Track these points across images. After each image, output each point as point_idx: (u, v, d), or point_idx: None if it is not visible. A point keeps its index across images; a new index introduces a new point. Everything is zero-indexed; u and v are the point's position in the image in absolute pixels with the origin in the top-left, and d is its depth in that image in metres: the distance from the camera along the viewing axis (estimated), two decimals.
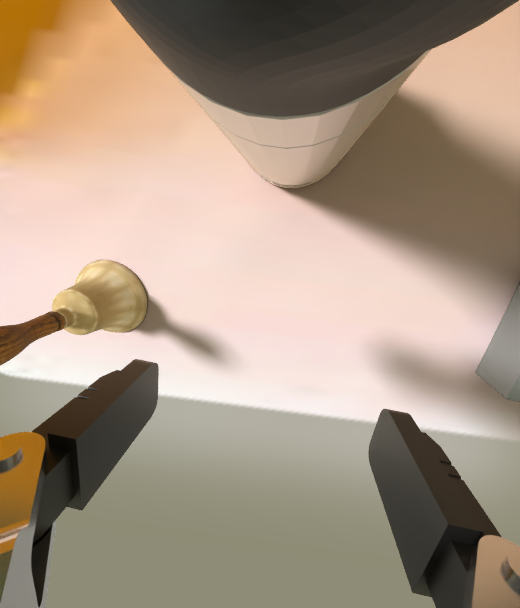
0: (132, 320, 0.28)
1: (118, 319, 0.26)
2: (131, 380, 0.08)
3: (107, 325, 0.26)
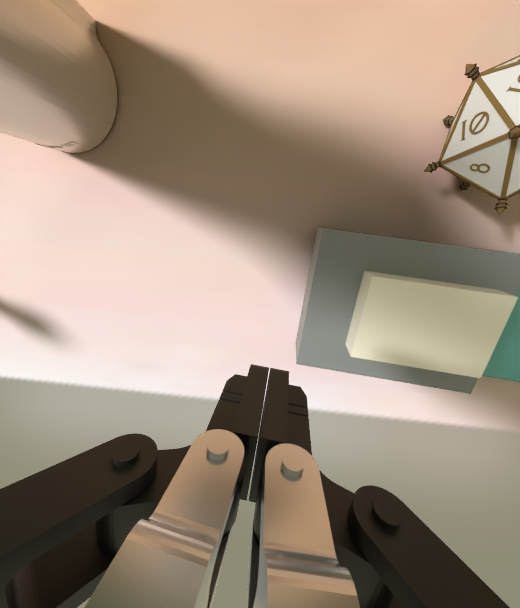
0: None
1: None
2: (262, 384, 0.09)
3: None
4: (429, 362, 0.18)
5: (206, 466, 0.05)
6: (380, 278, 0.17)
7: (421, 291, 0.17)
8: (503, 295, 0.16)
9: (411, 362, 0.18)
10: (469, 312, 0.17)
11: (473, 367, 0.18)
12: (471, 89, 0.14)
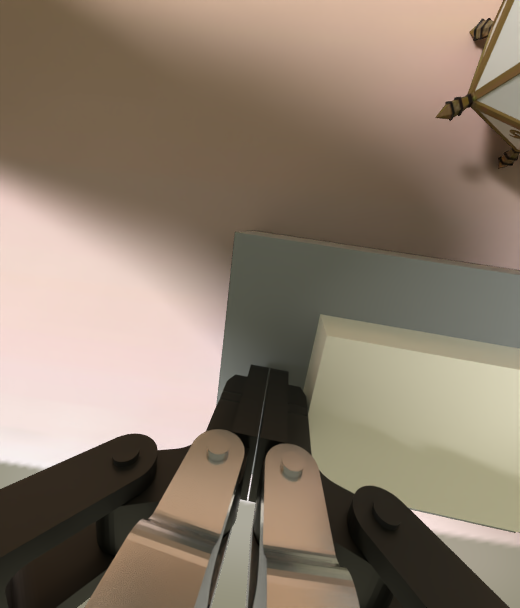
0: None
1: None
2: (263, 384, 0.09)
3: None
4: (446, 502, 0.09)
5: (206, 466, 0.05)
6: (344, 340, 0.08)
7: (431, 371, 0.08)
8: None
9: (410, 500, 0.09)
10: None
11: None
12: None
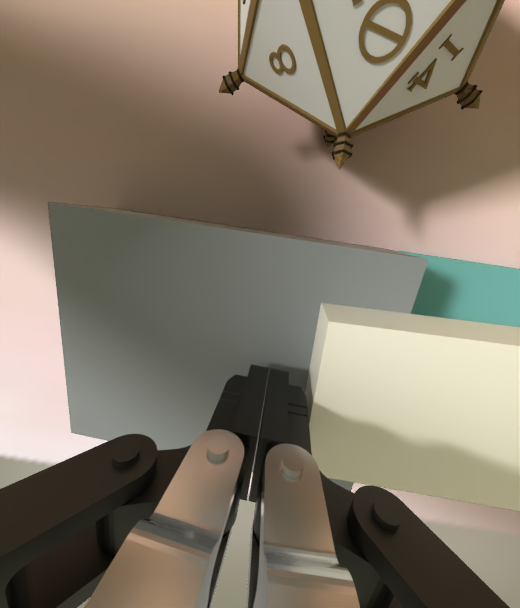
0: None
1: None
2: (263, 384, 0.09)
3: None
4: (457, 486, 0.09)
5: (206, 466, 0.05)
6: (346, 326, 0.08)
7: (436, 353, 0.08)
8: None
9: (420, 486, 0.09)
10: None
11: None
12: None
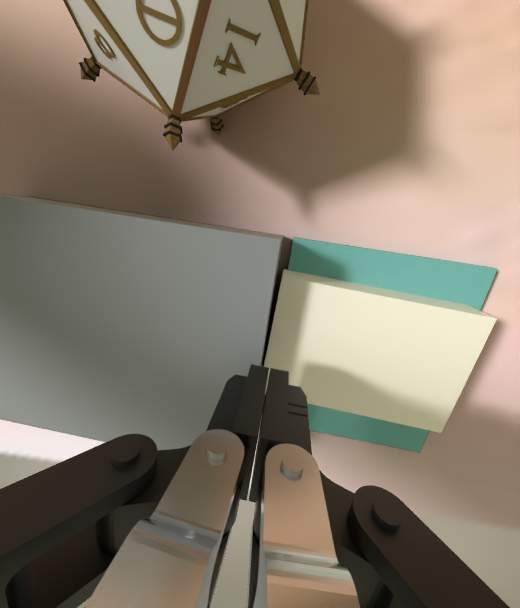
0: None
1: None
2: (263, 384, 0.09)
3: None
4: (368, 405, 0.12)
5: (206, 466, 0.05)
6: (294, 280, 0.11)
7: (354, 303, 0.11)
8: (475, 314, 0.11)
9: (343, 405, 0.13)
10: (424, 337, 0.11)
11: (431, 416, 0.12)
12: None
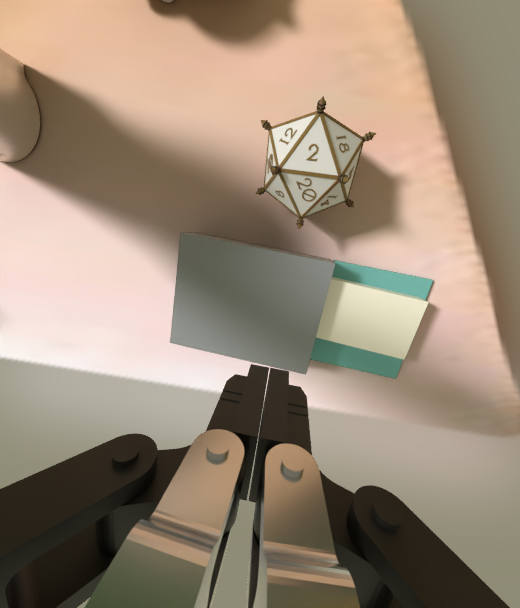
0: None
1: None
2: (262, 384, 0.09)
3: None
4: (369, 344, 0.25)
5: (206, 466, 0.05)
6: (336, 281, 0.24)
7: (364, 292, 0.24)
8: (419, 300, 0.24)
9: (356, 344, 0.25)
10: (396, 310, 0.24)
11: (399, 350, 0.25)
12: (268, 137, 0.20)
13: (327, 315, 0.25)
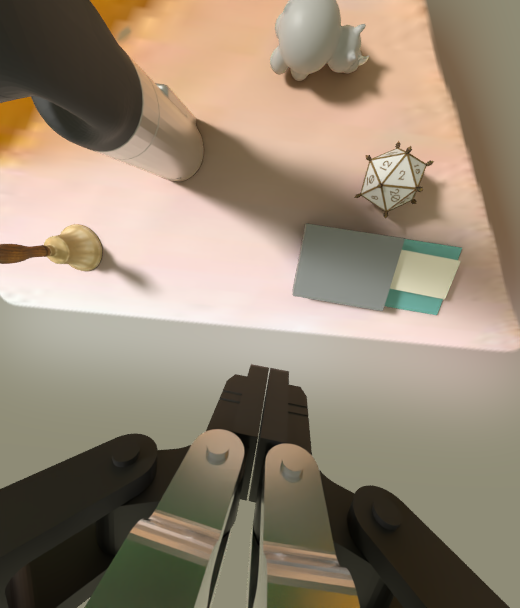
0: (92, 261, 0.46)
1: (83, 258, 0.45)
2: (263, 384, 0.09)
3: (76, 260, 0.44)
4: (422, 290, 0.40)
5: (206, 466, 0.05)
6: (402, 250, 0.39)
7: (419, 257, 0.39)
8: (454, 260, 0.38)
9: (414, 290, 0.40)
10: (440, 267, 0.39)
11: (441, 293, 0.40)
12: (369, 164, 0.34)
13: (395, 273, 0.40)
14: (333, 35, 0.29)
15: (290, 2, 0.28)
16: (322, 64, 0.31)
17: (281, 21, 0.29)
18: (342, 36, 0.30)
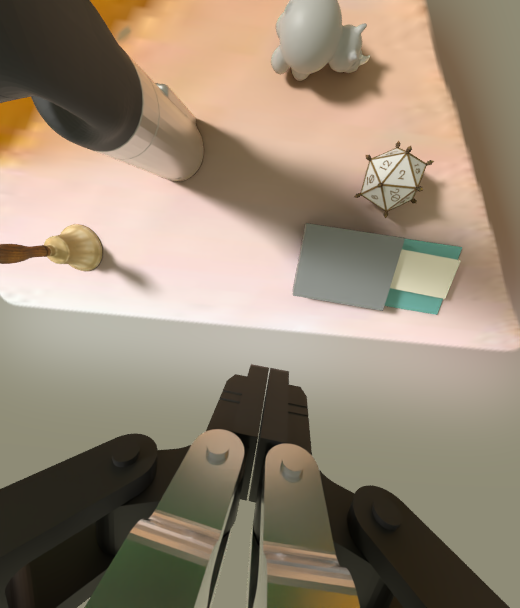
0: (93, 261, 0.46)
1: (83, 258, 0.45)
2: (262, 384, 0.09)
3: (76, 260, 0.44)
4: (422, 290, 0.40)
5: (206, 466, 0.05)
6: (402, 250, 0.39)
7: (420, 256, 0.39)
8: (454, 259, 0.38)
9: (414, 290, 0.40)
10: (440, 266, 0.39)
11: (441, 293, 0.40)
12: (369, 164, 0.34)
13: (395, 272, 0.40)
14: (334, 34, 0.29)
15: (291, 2, 0.28)
16: (323, 64, 0.31)
17: (282, 21, 0.29)
18: (343, 36, 0.30)
